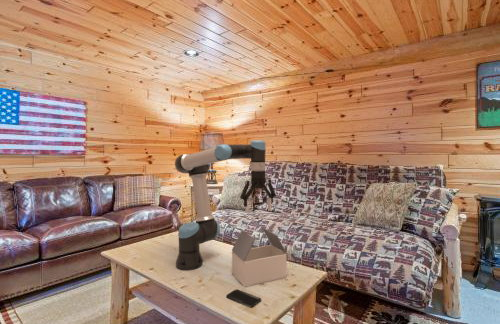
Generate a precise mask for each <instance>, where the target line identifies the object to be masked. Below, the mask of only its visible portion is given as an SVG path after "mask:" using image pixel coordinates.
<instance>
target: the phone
mask: <svg viewBox="0 0 500 324" xmlns="http://www.w3.org/2000/svg"><path fill="white" fill-rule="evenodd" d="M225 296H226V299H228V300H230V301H234V302H235V303H237V304H240V305H243V306H245V307H247V308H251V309H253V308H254V307H256V306H258V305H259V304H260V303H261V302H262V298H261V297H258V296H256V295H253V294H251V293H248V292H245V291H243V290H240V289H237V288H236V289H234V290H232V291H231V292H229V293H228V294H226V295H225Z"/></svg>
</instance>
